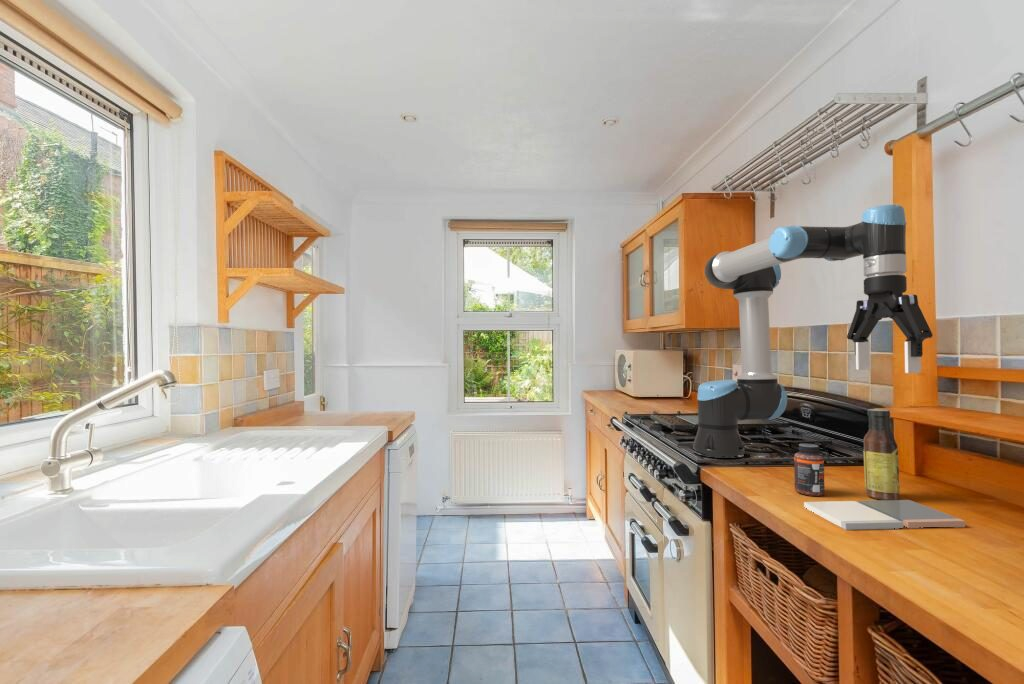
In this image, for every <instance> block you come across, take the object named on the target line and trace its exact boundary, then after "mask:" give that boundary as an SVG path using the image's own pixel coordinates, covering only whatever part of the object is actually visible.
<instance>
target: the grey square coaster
mask: <svg viewBox="0 0 1024 684" xmlns="http://www.w3.org/2000/svg"><path fill="white" fill-rule="evenodd" d="M858 503H860V504H863V505H865V506H867V507H869V508H872V509H874V510H876V511H878V512H881V513H883V514H885V515H888V516H890V517H892V518H894V519H897V520H899V521H901V522H903V527H904V526H905V527H904V528H906V527H907V528H906V529H908V528H909V529H924V528H923V527H954V528H966V520H964V519H961V518H958V517H956V516H953V515H950V514H948V513H945V512H942V511H940V510H937V509H935V508H933V507H929V506H928V505H927V506H926V505H924V504H922V503H919V502H917V501H916V502H915V501H913V500H910V499H898V500H879V499H875V500H859V501H858ZM919 527H921V528H919Z"/></svg>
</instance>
